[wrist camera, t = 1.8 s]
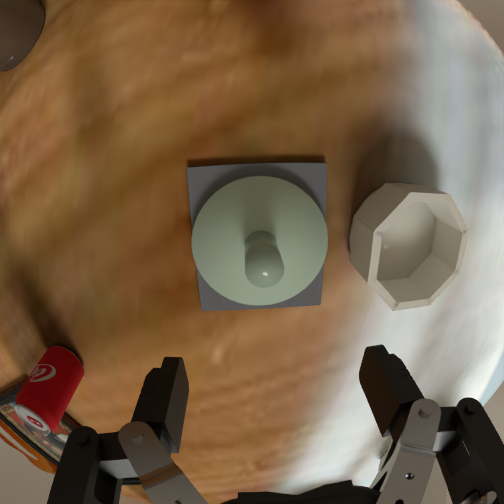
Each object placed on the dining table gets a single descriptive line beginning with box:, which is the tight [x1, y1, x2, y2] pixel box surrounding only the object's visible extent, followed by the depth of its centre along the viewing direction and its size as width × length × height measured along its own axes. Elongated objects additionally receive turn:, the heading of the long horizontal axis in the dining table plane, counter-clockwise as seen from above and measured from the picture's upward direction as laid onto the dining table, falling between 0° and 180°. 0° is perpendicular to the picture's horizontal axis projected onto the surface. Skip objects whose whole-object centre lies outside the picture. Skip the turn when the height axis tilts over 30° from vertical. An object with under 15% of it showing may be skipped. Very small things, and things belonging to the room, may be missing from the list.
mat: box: [187, 162, 327, 311], centre depth 26 cm, size 14×12×1 cm
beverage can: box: [14, 345, 84, 434], centre depth 26 cm, size 6×6×12 cm
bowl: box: [349, 183, 468, 311], centre depth 24 cm, size 11×11×5 cm
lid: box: [192, 175, 328, 305], centre depth 23 cm, size 12×12×6 cm
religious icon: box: [0, 379, 141, 485], centre depth 42 cm, size 38×35×3 cm
